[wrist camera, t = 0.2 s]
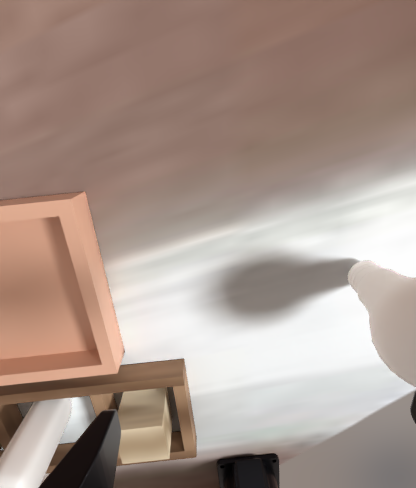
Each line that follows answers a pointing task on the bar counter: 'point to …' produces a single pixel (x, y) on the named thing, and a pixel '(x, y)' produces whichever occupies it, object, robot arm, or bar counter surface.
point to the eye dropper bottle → (34, 444)
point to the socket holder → (106, 401)
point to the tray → (54, 293)
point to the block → (145, 425)
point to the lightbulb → (389, 315)
